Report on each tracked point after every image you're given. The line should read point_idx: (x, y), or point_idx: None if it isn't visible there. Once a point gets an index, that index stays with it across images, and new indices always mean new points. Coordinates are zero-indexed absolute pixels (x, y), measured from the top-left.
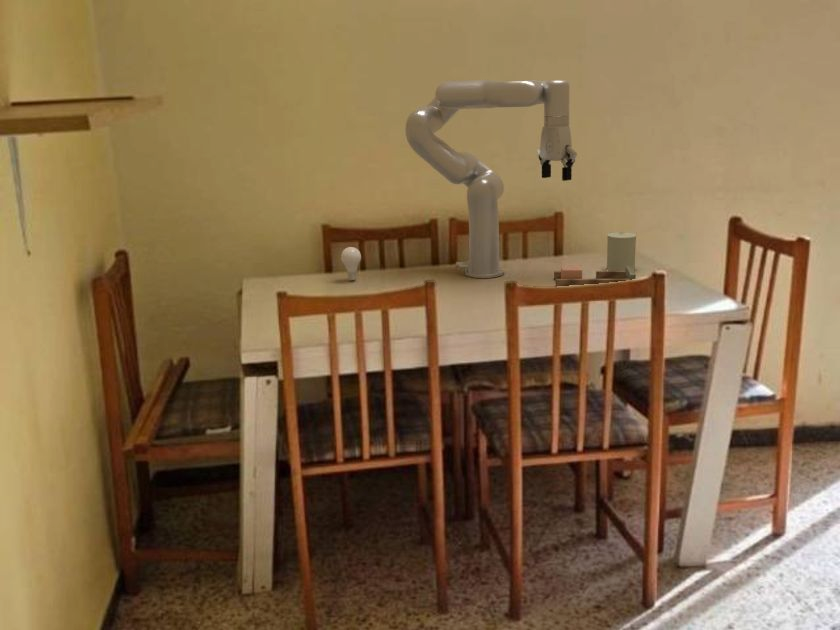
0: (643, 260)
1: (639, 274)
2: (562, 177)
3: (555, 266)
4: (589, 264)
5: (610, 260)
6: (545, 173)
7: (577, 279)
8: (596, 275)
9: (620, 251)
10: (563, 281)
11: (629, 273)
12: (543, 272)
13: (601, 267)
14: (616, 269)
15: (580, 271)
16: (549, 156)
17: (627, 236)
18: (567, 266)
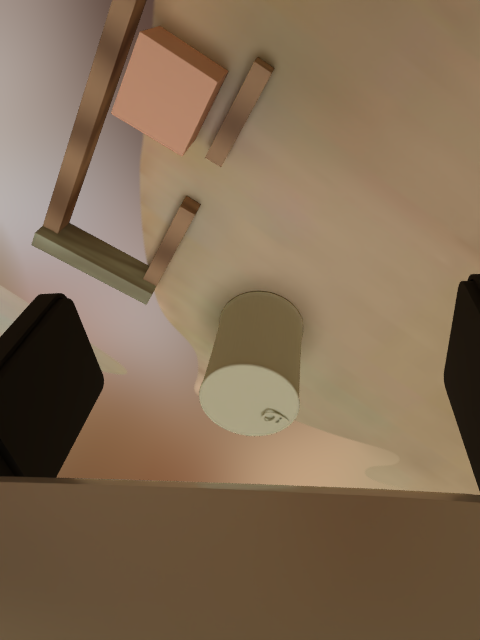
0: (316, 423)
1: (188, 328)
2: (38, 309)
3: (439, 200)
4: (377, 304)
5: (254, 312)
6: (471, 343)
7: (101, 71)
8: (183, 201)
9: (218, 343)
10: (111, 7)
11: (61, 245)
12: (393, 98)
13: (319, 306)
14: (235, 302)
15: (114, 105)
16: (129, 568)
17: (219, 401)
18: (195, 100)
